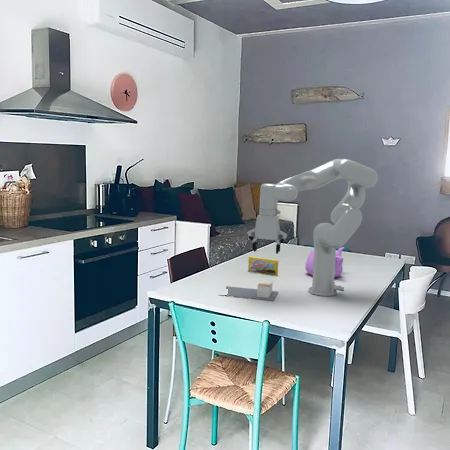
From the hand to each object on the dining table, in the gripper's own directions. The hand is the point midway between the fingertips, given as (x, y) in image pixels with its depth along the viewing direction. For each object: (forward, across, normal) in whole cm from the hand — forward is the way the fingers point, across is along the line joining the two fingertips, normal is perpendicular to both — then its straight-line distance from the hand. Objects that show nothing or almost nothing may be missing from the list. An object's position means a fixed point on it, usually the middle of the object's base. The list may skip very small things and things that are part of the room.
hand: (266, 252), depth 199 cm
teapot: (+19, -23, -47) cm, 56 cm away
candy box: (+20, +8, -39) cm, 44 cm away
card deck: (+19, 0, 0) cm, 19 cm away
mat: (+19, +7, 0) cm, 20 cm away
